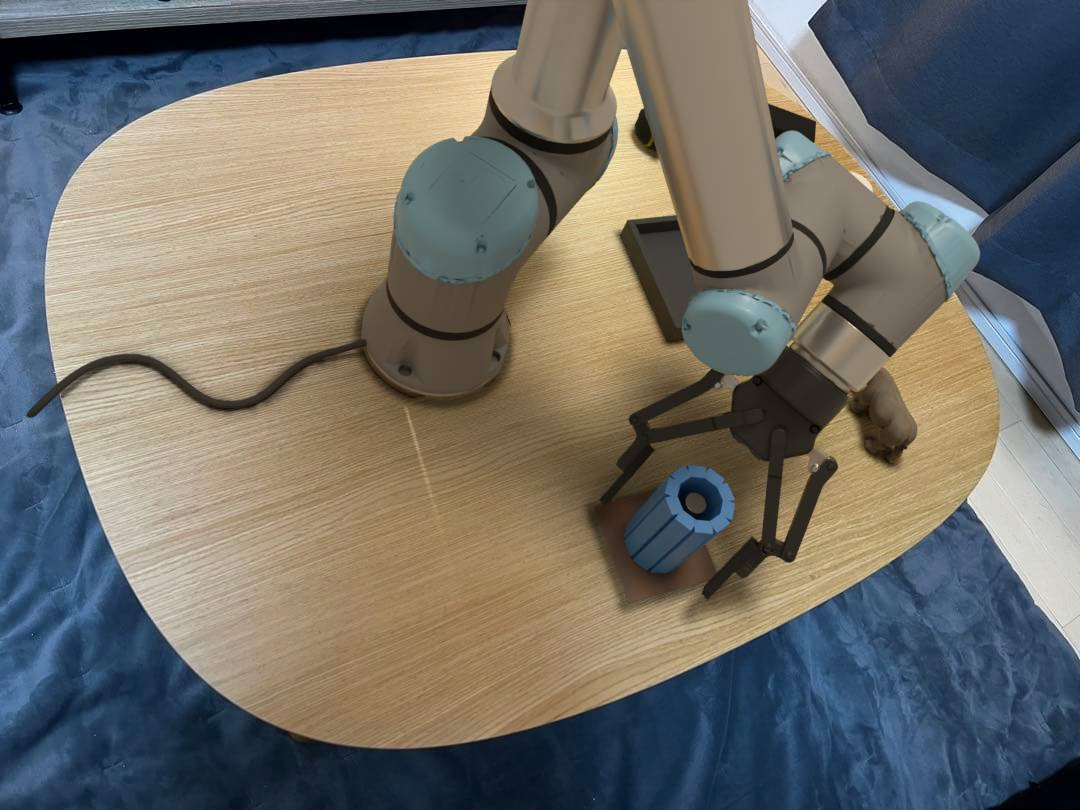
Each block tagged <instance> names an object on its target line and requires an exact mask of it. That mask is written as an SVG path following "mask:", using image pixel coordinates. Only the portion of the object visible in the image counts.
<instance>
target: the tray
mask: <svg viewBox="0 0 1080 810" xmlns="http://www.w3.org/2000/svg"><path fill="white" fill-rule="evenodd" d="M619 236H620V238H621V240H622V242H623V244H624V247H625V250H626V252H627V254H628V256H629V259H630V261H631V262H632V265H633V268H634V270H635V272H636V274H637V277H638V278H639V281H640V282H641V285H642V288H643V291H644V292H645V294H646V296H647V299H648V301H649V303H650V306H651V308H652V310H653V312H654V315H655V317H656V320H657V321H658V323H659V326H660V329H661V330H662V333H663V335H664V337H665V339H666V341H667V342H674V341H680V340H681V341H682V340H684V338H683V334H682V321H683V316H684V314H685V312H686V310H687V308H688V302H689V300H690V298H691V297H692V296H694V295H695V294H696V292H697V286H696V282H695V279H694V276H693V272H692V269H691V264H690V260H689V257H688V254H687V250H686V247H685V244H684V240H683V237H682V234H681V230H680V227H679V224H678V220H677V217H676V214H673V215H663V216H652V217H643V218H634V219H627V220H626V221H625V224H624V226H623V228H622V229H621V232H620V235H619Z"/></svg>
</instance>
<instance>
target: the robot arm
mask: <svg viewBox="0 0 1080 810" xmlns="http://www.w3.org/2000/svg"><path fill="white" fill-rule="evenodd" d="M751 15H752V14H751V9H750V5H749V1H748V0H527V3H526V7H525V10H524V15H523V20H522V24H521V29H520V32H519V33H520V34H519V38H518V41H517V42H518V43H517V47H516V52H515V54H512V55H511V56H508V57H507V58H506V59H504V60H503V61H502V62H501V63H499V64H498V65H497V68H496V69H495V71H494V73H493V76H492V78H491V84H490V90H489V91H488V92H489V93H488V98H487V103H486V108H485V111H484V112H485V113H484V116H483V119H482V120H481V123H480V125H479V126H478V127H477V129H476V130H475V131H473V132H472V134H470V135H465V136H464V137H463V138H462V140H461V141H458V140H456V139H455V137H449V138H445V139H442V140H440V141H438V142H435V143H433V144H431V145H430V146H429V147H427V148H425V149H423V151H421V152H420V153H419V154H417V156H416V157H415V158H414V159H413V160H412V162H411V163H410V164H409V165H408V168H407V170H406V172H405V174H404V176H403V177H402V182H401V185H400V189H399V191H398V192H397V194H396V198H395V203H394V210H393V216H392V218H393V227H392V236H391V242H390V250H389V251H390V252H389V259H388V267H387V274H386V277H385V278H384V280H383V282H381V284H380V285H379V286H378V288H376V289H375V290H374V292H373V293H372V295H371V296H370V298H369V300H368V302H367V304H366V305H365V309H364V310H363V311H364V312H363V315H362V321H361V329H360V331H361V332H360V339H359V340H356V341H351V342H350V343H349V342H348V343H345V344H342V345H339V346H337V347H332V348H327V349H323V350H320V351H318V352H315V353H312V354H310V355H308V356H306V357H304V358H302V359H300V360H299V361H296V363H294V364H293V365H291V366H290V367H289V368H288V369H286V371H284V372H283V373H282V374H281V375H280V376H278V378H276V379H275V380H274V381H273V382H271V384H269V385H268V386H267V387H265V388H264V389H263V390H262V391H260V392H258V393H256V394H255V395H252V396H250V397H246V398H243V399H236V400H222V399H218V398H215V397H211V396H210V395H207V394H205V393H203V392H202V391H200V390H199V389H197V388H196V387H195V386H193V385H192V384H191V383H189V382H188V381H187V380H186V379H185V378H183V377H182V376H181V375H180V374H179V373H178V372H177V371H175V370H174V369H173V368H171V367H170V366H168V365H167V364H166V363H164V362H162V361H161V360H158V359H156V358H154V357H151V356H149V355H144V354H141V353H140V354H139V353H120V354H113V355H109V356H104V357H100V358H97V359H95V360H93V361H90V362H88V363H86V364H84V365H81V366H80V367H78V368H76V369H75V370H74V371H72V372H71V373H69V374H68V375H66V376H65V377H64V378H63V379H62V380H59V382H58V383H56V384H55V385H54V386H53V387H52V388H51V389H50V390H49V391H47V392H46V393H45V394H44V395H43V396H42V397H41V398H40V399H39V400H38V401H37V402H35V404H34V405H32V406H31V408H30V409H29V410H28V411H27V412H26V414H25V416H26V417H27V419H32V418H35V417H36V416H38V415H39V413H40V412H41V411H42V410H44V409H45V408H46V407H47V406H48V405H49V404H50V403H51V402H52V401H53V400H54V399H55V398H56V397H57V396H58V395H60V394H61V392H63V391H64V390H65V389H66V388H67V387H69V386H70V385H71V384H72V383H74V382H75V381H77V380H78V379H80V378H81V377H83V376H84V375H86V374H88V373H90V372H92V371H94V370H95V369H98V368H101V367H104V366H107V365H111V364H115V363H123V362H137V363H142V364H146V365H149V366H152V367H154V368H155V369H157V370H159V371H160V372H162V373H163V374H165V375H166V376H167V377H169V378H170V379H171V380H172V381H174V382H175V384H177V385H178V386H179V387H181V389H183V390H184V391H185V392H186V393H188V394H189V395H191V397H194V398H195V399H197V400H198V401H200V402H203V403H204V404H206V405H209V406H213V407H216V408H220V409H239V408H245V407H248V406H252V405H255V404H257V403H259V402H261V401H263V400H265V399H266V398H268V397H269V396H271V395H272V394H273V393H274V392H276V390H278V389H279V388H280V387H282V386H283V384H285V383H286V382H287V381H288V380H289V379H290V378H291V377H292V376H294V375H295V374H296V373H298V372H299V371H301V370H302V369H303V368H305V367H306V366H308V365H311V364H312V363H314V362H317V361H319V360H322V359H326V358H329V357H333V356H337V355H341V354H344V353H347V352H350V351H354V350H358V349H360V348H362V350H363V353H364V356H365V357H366V359H367V360H366V361H367V362H368V363H369V366H370V367H371V368H372V369H373V371H374V372H375V373H376V374H377V375H378V376H379V378H381V379H382V380H383V381H384V383H386V384H387V385H389V386H390V387H392V388H393V389H396V391H398V392H400V393H402V394H404V395H407V396H410V397H412V398H416V399H419V398H423V397H425V398H426V397H427V398H432V399H450V398H456V397H462V396H465V395H469V394H471V393H474V392H476V391H478V390H480V389H481V388H484V387H487V386H489V385H490V384H491V383H492V382H493V381H494V379H496V377H497V376H498V375H499V373H500V371H501V369H502V367H503V364H504V362H505V360H506V357H507V354H508V351H509V345H510V344H509V343H510V329H509V327H510V328H512V324H511V320H510V318H509V315H508V313H507V311H506V305H507V301H508V299H509V296H510V293H511V290H512V287H513V285H514V282H515V279H517V276H518V274H519V273H520V271H521V269H522V268H523V266H524V265H526V263H527V262H529V260H530V258H531V257H532V256H533V255H534V254H535V252H536V251H538V249H539V248H540V246H541V245H542V244H543V243H544V242H545V241H546V239H547V238H548V237H549V236H550V235H551V234H552V232H553V231H554V230H555V229H556V228H557V227H558V226H559V225H560V223H561V222H562V221H563V220H564V219H565V218H566V216H567V215H568V214H570V212H571V211H572V210H573V208H575V206H576V205H577V204H578V203H579V202H580V200H581V199H582V198H583V197H584V196H585V195H586V193H587V192H589V191H591V190H592V189H593V188H594V186H596V184H597V183H598V182H599V181H600V180H601V179H602V177H603V176H604V175H605V173H606V171H607V170H608V168H609V165H610V163H611V161H612V159H613V157H614V155H615V152H616V149H617V145H618V139H619V122H618V117H617V111H618V101H617V98H616V95H615V92H614V90H613V88H612V86H611V85H610V84H611V81H612V78H613V75H614V73H615V69H616V67H617V64H618V61H619V58H620V56H621V52H622V49H623V47H624V46H625V49H626V53H627V56H628V59H629V62H630V66H631V70H632V72H633V76H634V79H635V82H636V86H637V89H638V92H639V96H640V99H641V103H642V106H643V108H644V110H645V113H646V116H647V120H648V123H649V126H650V130H651V133H652V136H653V140H654V143H655V146H656V150H657V152H656V153H657V156H658V159H659V163H660V166H661V170H662V173H663V177H664V180H665V183H666V186H667V190H668V193H669V196H670V200H671V204H672V207H673V210H674V213H675V215H676V217H677V220H678V224H679V227H680V230H681V234H682V237H683V240H684V244H685V247H686V250H687V254H688V257H689V260H690V264H691V269H692V272H693V276H694V279H695V282H696V286H697V292H696V294H695V295H694V296H692V297H691V298H690V300H689V302H688V308H687V310H686V312H685V314H684V316H683V321H682V334H683V338H684V339H683V340H684V343H685V345H686V346H687V348H688V349H689V351H690V352H691V353H692V355H693V356H694V357H695V358H696V359H697V360H698V361H699V362H701V363H702V364H703V365H704V366H706V367H707V368H710V369H709V370H708V371H707V372H706V373H705V374H704V376H703V377H701V379H700V380H698V381H695V382H693V383H691V384H690V385H688V386H685V387H683V388H682V389H680V390H677V391H675V392H673V393H671V394H669V395H667V396H665V397H663V398H661V399H659V400H657V401H655V402H653V403H651V404H649V405H647V406H645V407H643V408H641V409H639V410H637V411H635V412H633V413H631V414H630V415H629V416H628V423H629V424H630V426H631V427H632V428H633V430H634V432H635V439H634V441H633V442H632V443H631V444H630V445H629V447H627V448H626V450H625V451H624V452H623V453H622V455H620V457H619V458H617V461H616V467H617V468H618V469H620V470H621V471H622V473H621V474H620V475H619V476H618V477H617V479H616V480H615V481H614V482H613V483H612V484H611V486H610V487H609V488H608V489H607V490H606V491H605V492H604V494H603V495H602V496H601V497H600V498H599V499H598V501H599V502H601V504H604V505H606V504H607V503H608V502H612V500H613V499H614V498H615V496H616V495H617V494H618V493H619V492H620V491H621V490H622V488H623V487H624V486H625V485H626V484H628V482H629V481H630V480H631V478H632V477H633V476H634V475H635V474H636V473H637V472H638V471H639V469H640V468H642V466H643V465H644V464H645V463H646V462H647V461H648V459H650V457H651V456H652V455H653V454H654V453H655V452H656V449H655V448H654V447H653V446H652V445H653V444H657V443H661V442H666V441H672V440H676V439H681V438H687V437H691V436H696V435H700V434H705V433H710V432H717V431H722V430H726V429H729V432H730V434H731V435H732V436H731V437H732V438H733V440H735V441H736V442H737V443H739V444H741V445H743V446H745V447H747V449H748V450H749V452H750V453H751V455H752V456H753V457H754V458H756V459H757V460H758V461H762V462H766V463H767V462H768V468H767V471H768V472H767V479H766V489H765V498H764V509H763V519H762V528H761V538H760V540H757V538H755V537H754V536H752V535H751V536H750V538H749V539H747V541H745V543H744V544H743V545H742V546H741V547H740V548H739V549H738V550H737V551H736V552H735V553H734V554H733V555H732V556H731V558H729V559H728V561H727V562H726V563H724V564H723V566H721V568H720V569H719V570H718V571H716V572H717V573H716V574H715V575H714V576H713V577H712V578H711V579H710V580H709V581H706V583H705V584H704V586H703V588H702V591H701V595H702V596H703V597H704V598H705V599H706V600H709V599H710V598H711V597H712V596H713V595H714V594H715V593H716V592H717V591H718V590H719V589H720V588H721V587H722V586H723V585H724V584H725V583H726V582H727V581H728V580H729V579H730V578H731V577H732V576H733V574H735V575H737V576H738V577H739V578H740V579H741V580H744V579H746V578H748V577H749V576H750V575H751V574H752V573H753V572H754V571H755V569H757V568H758V567H759V566H760V565H761V564H762V562H764V561H765V559H767V558H769V557H776V558H778V559H780V560H782V561H783V562H784V563H787V564H791V563H793V562H795V560H796V558H797V556H798V553H799V551H800V549H801V545H802V543H803V540H804V537H805V535H806V533H807V529H808V527H809V524H810V522H811V519H812V517H813V513H814V511H815V509H816V507H817V503H818V501H819V498H820V495H821V493H822V490H823V488H824V486H825V484H826V483H827V482H828V481H830V479H831V478H832V477H833V476H834V475H835V473H836V472H837V471H838V469H839V464H838V462H837V459H836V458H835V457H834V456H833V455H828V454H826V453H825V452H824V451H822V450H821V449H820V448H819V447H818V446H817V445H815V444H816V440H817V438H818V436H819V435H820V433H821V432H822V431H823V430H824V429H825V428H826V427H827V426H828V425H829V424H830V423H831V422H832V421H833V420H834V419H835V418H836V417H837V416H838V414H840V412H841V411H843V409H844V408H845V407H846V406H847V405H848V404H850V402H849V401H848V400H850V397H849V396H848V395H849V393H850V392H851V391H853V393H859V392H861V391H862V390H863V389H864V388H865V387H866V386H867V385H866V384H867V383H868V382H869V381H870V380H871V379H872V377H873V376H874V375H875V374H876V373H877V372H878V371H879V370H880V369H881V368H882V367H883V368H884V366H885V365H886V364H887V363H888V362H889V361H890V359H891V358H892V357H893V356H894V355H895V354H896V352H897V351H898V350H899V349H900V348H901V347H902V346H903V345H904V344H905V343H906V342H907V341H908V340H909V339H910V338H911V337H912V336H913V335H914V334H915V333H916V332H917V331H918V330H919V329H920V328H921V327H922V326H923V325H924V324H925V323H926V322H927V320H929V318H930V317H932V315H934V314H935V313H936V312H937V311H938V310H939V308H941V307H942V306H943V305H944V303H947V302H948V301H949V300H950V299H951V298H952V296H953V294H954V293H955V292H956V291H957V290H958V289H959V287H960V286H961V285H962V284H963V282H964V281H965V280H966V279H967V278H968V277H969V275H970V274H971V273H972V271H973V270H974V269H975V267H976V266H977V264H978V263H979V261H980V257H981V250H980V248H979V247H980V246H979V245H978V243H977V242H976V239H975V238H974V237H973V236H972V235H971V234H970V233H969V231H967V229H965V227H963V225H961V224H960V223H959V222H957V221H956V220H955V219H953V218H951V217H949V216H948V215H946V214H945V212H944V211H942V210H941V209H939V208H938V207H935V206H933V205H931V204H929V203H926V202H924V201H912V202H910V203H909V204H907V205H906V206H905V207H904V208H903V209H900V210H896V209H894V208H891V207H890V206H888V204H887V203H886V202H884V201H883V200H882V199H881V198H880V197H878V195H876V194H875V193H874V191H873V192H872V191H870V190H869V189H868V188H867V187H866V186H865V185H864V184H863V183H861V182H860V181H859V180H858V179H857V178H856V177H855V176H853V175H852V174H851V173H850V172H849V170H848V169H847V168H846V167H845V166H843V164H841V163H840V162H839V161H838V160H836V158H834V157H833V155H832V153H830V152H828V151H826V150H824V149H823V148H821V147H819V146H818V145H817V144H816V143H815V142H814V143H813V142H812V141H810V140H809V139H808V138H806V137H805V136H804V135H802V134H801V133H799V132H797V131H787V132H784V133H783V134H781V135H780V136H778V137H777V138H776V139H775V136H774V131H773V126H772V121H771V116H770V111H769V106H768V104H769V102H768V97H767V91H766V86H765V82H764V77H763V70H762V66H761V61H760V56H759V51H758V44H757V41H756V40H757V39H756V35H755V30H754V25H753V20H752V16H751ZM823 279H824V280H825V281H827V282H829V283H830V284H832V287H831V288H830V290H829V291H828V293H827V294H825V296H824V297H822V299H821V300H820V301H819V302H818V303H817V304H816V306H815V307H813V308H812V310H811V311H810V312H809V314H807V315H806V317H804V318H803V316H804V314H805V312H806V310H807V308H808V306H809V304H810V303H811V301H812V299H813V298H814V295H815V294H816V292H817V290H818V288H819V287H820V284H821V282H822V280H823ZM802 318H803V319H802ZM801 320H802V321H801ZM792 341H793V342H792ZM790 342H791V344H789V343H790ZM788 344H789V346H788ZM737 377H750V378H749V379H747V380H744V381H740V380H739V378H737ZM710 390H713V391H715V392H717V393H718V392H722V391H724V390H731V391H732V393H731V404H730V411H726V412H720V413H717V414H713V415H709V416H704V417H699V418H693V419H689V420H685V421H680V422H676V423H671V424H666V425H662V426H656V427H652V426H651V425H650V423H649V421H651V420H653V419H655V418H657V417H659V416H661V415H663V414H665V413H667V412H670V411H671V410H673V409H675V408H677V407H680V406H682V405H683V404H685V403H687V402H689V401H692V400H693V399H696V398H698V397H700V396H703V395H704V394H705V393H707V392H709V391H710ZM806 455H807V457H808V458H809V460H808V464H807V471H808V473H810V474H809V476H808V478H807V480H806V483H805V486H804V488H803V491H802V493H801V496H800V499H799V502H798V504H797V506H796V509H795V512H794V515H793V517H792V520H791V523H790V526H789V528H788V530H787V533H786V536H785V538H784V541H783V540H780V539H778V538H777V530H778V520H779V519H778V518H779V511H780V499H781V491H782V481H783V472H784V462H785V460H787V459H792V458H796V457H797V458H798V457H803V456H806Z"/></svg>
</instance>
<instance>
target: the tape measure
mask: <svg viewBox="0 0 1080 810" xmlns="http://www.w3.org/2000/svg"><path fill="white" fill-rule="evenodd" d="M634 132H635V135H636V138H637V139H638V141H639V142H640V143H641V144H642V145H643V146H644V147H645V148H646V149H648V150H649V151H651V152H653V153H657V150H656V146H655V143H654V140H653V136H652V133H651V130H650V126H649V123H648V120H647V116H646V113H645V110H644V107H643V108H641V109H640V111H639V112H638V117H637V119H636V121H635V124H634Z"/></svg>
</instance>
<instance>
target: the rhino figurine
mask: <svg viewBox="0 0 1080 810" xmlns="http://www.w3.org/2000/svg"><path fill="white" fill-rule="evenodd" d="M868 406H869V407H868ZM867 407H868V408H867ZM849 408H850V410H851V411H853V413H857V414H860V413H862V412H863V410H864V409H866V408H867V412H868V414H869V419H870V420H871V422H872V423H873V424H874V425H875V426H876V427H877V428H878V429H880V430H879V433H878V439H875V440H874V439H870V438H868V439H866V440H865V442H864V444H865V445H864V447H865V449H866V450H868V451H869V452H870V453H874V454H875V453H877V452H878V451H884V450H886V449H887V447H888V448H889V447H893V450H888V451H885V453H884V457H885V459H886V460H887V462H889V463H890V464H895V463H896V462H897V460H898V459H900V458H901V457H902V455H903V452H904V450H908V447H909V446H910V445H911V444H912V443H913V442H914V441H915V440H916V438H917V435H918V425H917V422H916V420H915V418H914V417H913V415H912V413H911V412H910V411H909V410H908V409H909V408H907V405H906V403H905V401H904V399H903V397H902V394H901V392H900V389H899V388H898V385H897V383H896V381H895V379H894V377H893V375H892V374H891V373H890V371H889V370H887V369H886V368H885V367H884V366H883V367H882V368H881V369H880V370H879V371H878V372H877V373H876V374H875V375H874V376H873V377H872V379H871V380H870V381H869V382H868V383H867V384H866V385H865V386H864V387H863V388H862V390H861V394H860V396H859V401H851V402H849Z"/></svg>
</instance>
